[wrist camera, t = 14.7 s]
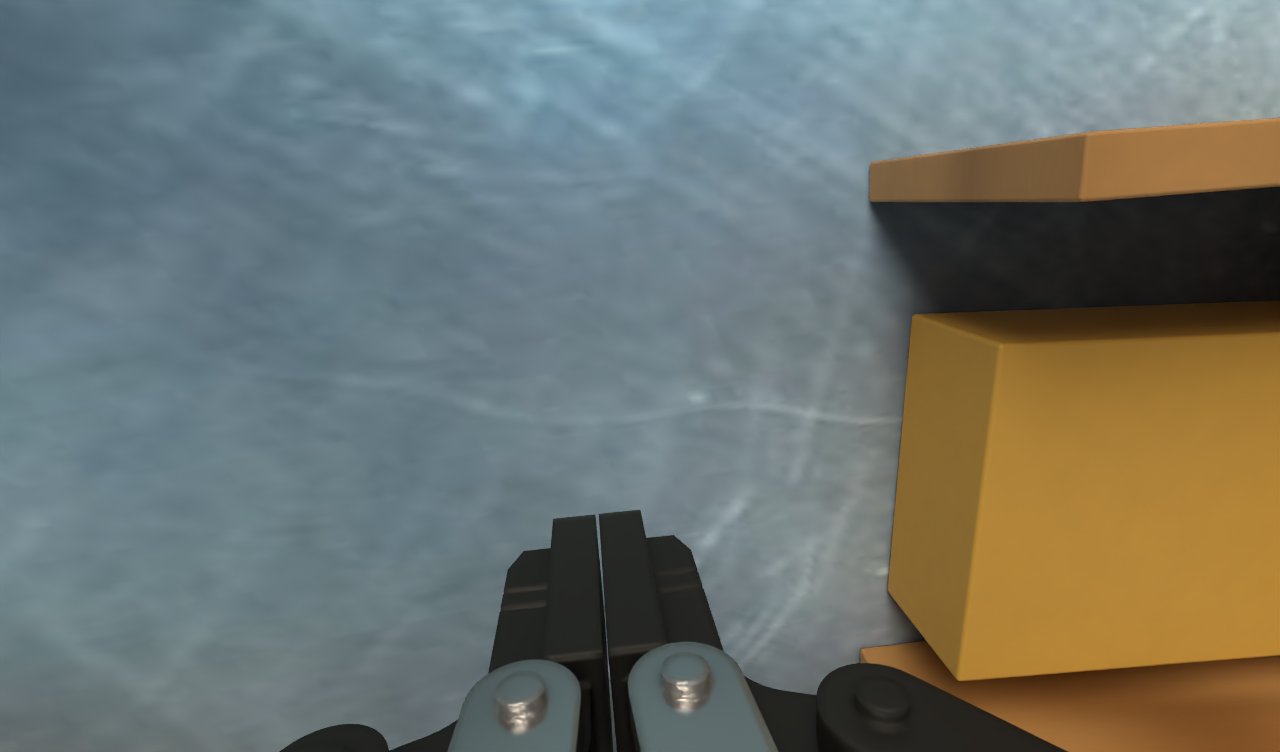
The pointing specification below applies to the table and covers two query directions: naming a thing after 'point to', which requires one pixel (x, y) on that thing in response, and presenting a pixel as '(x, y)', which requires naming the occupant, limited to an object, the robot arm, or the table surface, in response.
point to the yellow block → (1091, 487)
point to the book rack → (1127, 697)
